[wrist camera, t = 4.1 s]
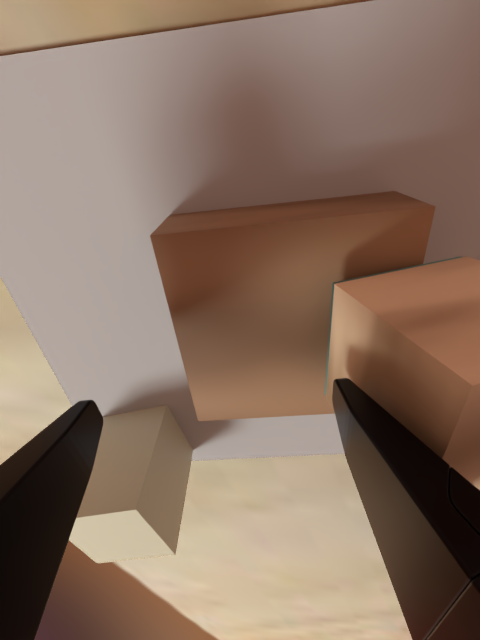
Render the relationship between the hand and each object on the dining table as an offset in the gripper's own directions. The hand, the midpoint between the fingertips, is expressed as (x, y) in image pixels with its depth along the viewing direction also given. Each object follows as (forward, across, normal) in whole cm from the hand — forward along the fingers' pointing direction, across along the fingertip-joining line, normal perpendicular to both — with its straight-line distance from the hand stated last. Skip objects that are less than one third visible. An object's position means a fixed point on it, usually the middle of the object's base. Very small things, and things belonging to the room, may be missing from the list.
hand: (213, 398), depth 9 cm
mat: (+6, -3, +1) cm, 7 cm away
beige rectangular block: (+6, +6, +9) cm, 13 cm away
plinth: (+6, -3, 0) cm, 7 cm away
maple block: (+3, -6, 0) cm, 7 cm away
